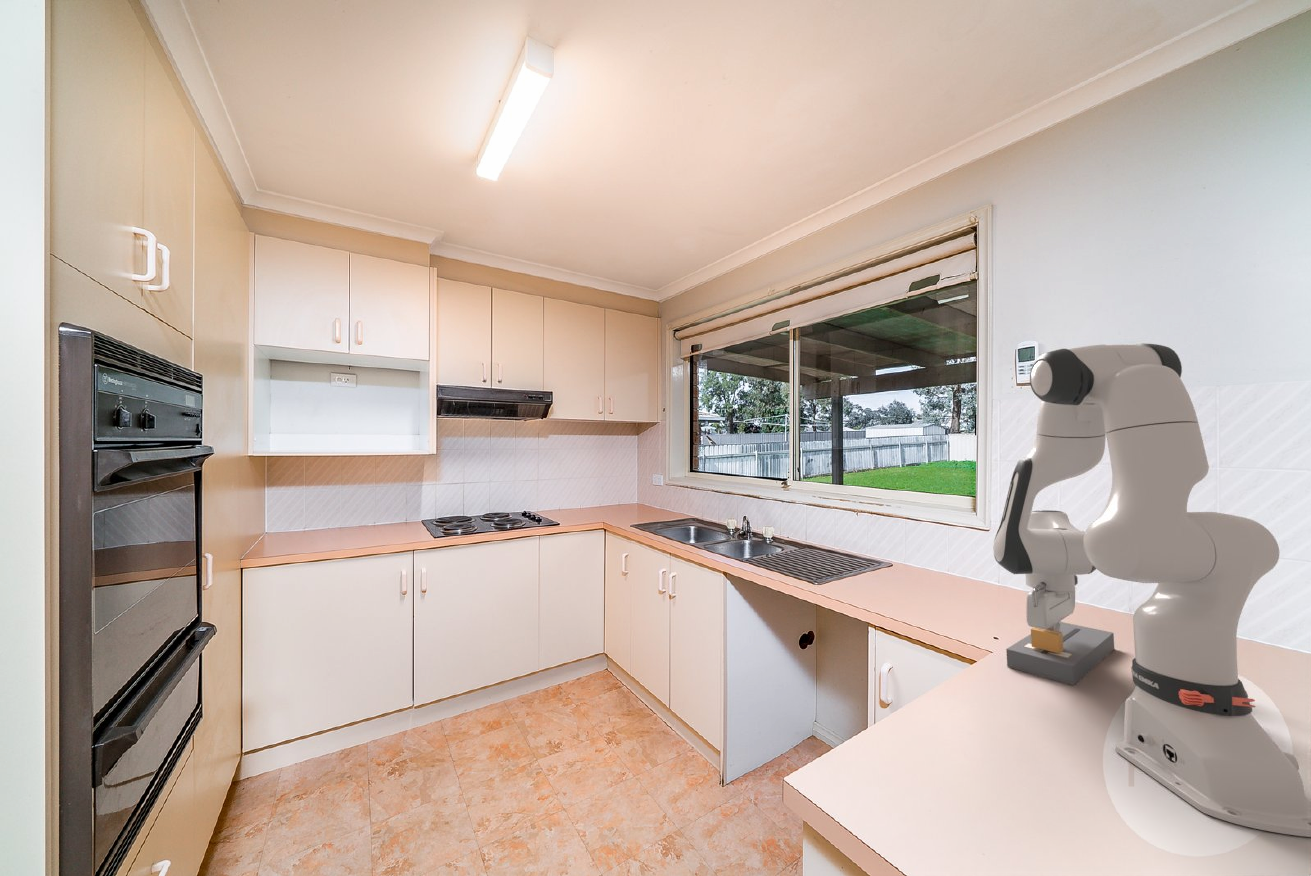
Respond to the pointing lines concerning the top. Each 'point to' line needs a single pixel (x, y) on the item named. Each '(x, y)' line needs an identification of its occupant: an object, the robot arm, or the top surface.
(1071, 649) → the fader console
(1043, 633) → the fader knob
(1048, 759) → the top surface
